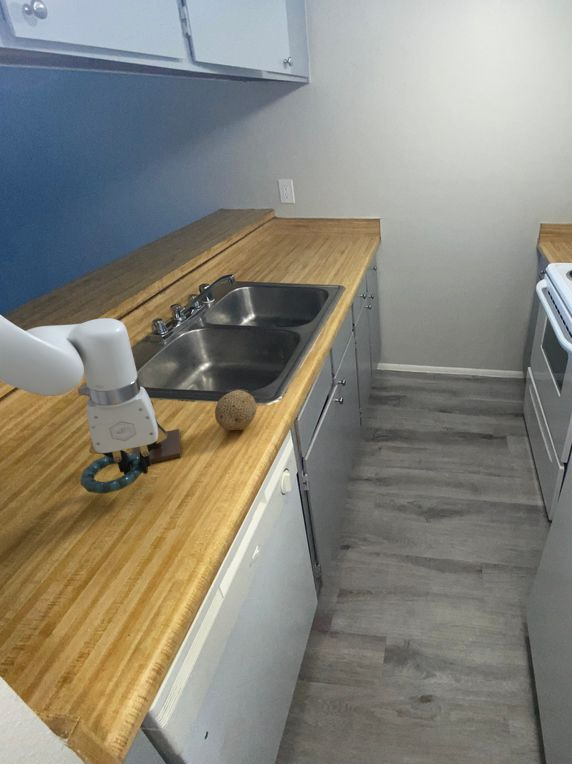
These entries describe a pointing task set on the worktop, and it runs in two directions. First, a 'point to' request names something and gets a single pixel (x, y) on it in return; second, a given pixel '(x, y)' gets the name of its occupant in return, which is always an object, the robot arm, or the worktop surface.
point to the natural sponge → (235, 410)
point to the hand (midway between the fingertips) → (136, 470)
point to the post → (164, 447)
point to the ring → (112, 485)
